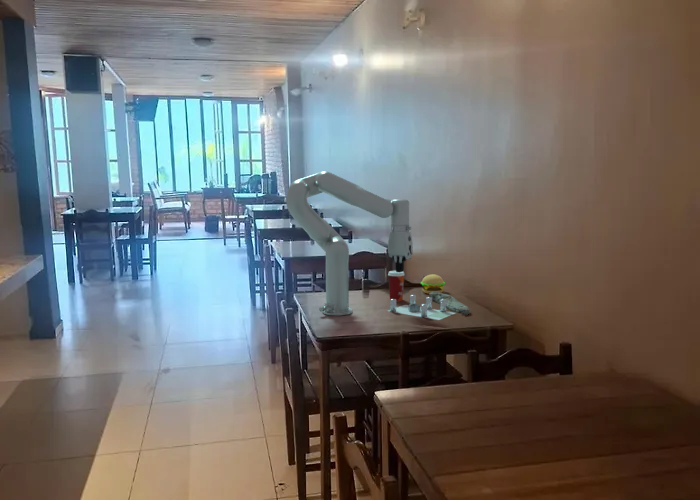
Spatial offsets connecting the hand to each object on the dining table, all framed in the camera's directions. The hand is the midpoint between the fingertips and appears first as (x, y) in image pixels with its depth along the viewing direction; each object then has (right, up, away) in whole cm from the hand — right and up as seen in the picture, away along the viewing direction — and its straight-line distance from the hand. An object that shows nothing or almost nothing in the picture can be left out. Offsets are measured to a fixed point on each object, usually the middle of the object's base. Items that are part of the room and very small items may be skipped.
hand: (399, 271), depth 249 cm
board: (+9, -18, -4) cm, 20 cm away
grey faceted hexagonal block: (+6, -16, -2) cm, 18 cm away
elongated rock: (+22, -16, +10) cm, 29 cm away
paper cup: (0, -15, +18) cm, 24 cm away
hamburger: (+20, -12, +40) cm, 46 cm away
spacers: (+7, -17, -4) cm, 18 cm away
